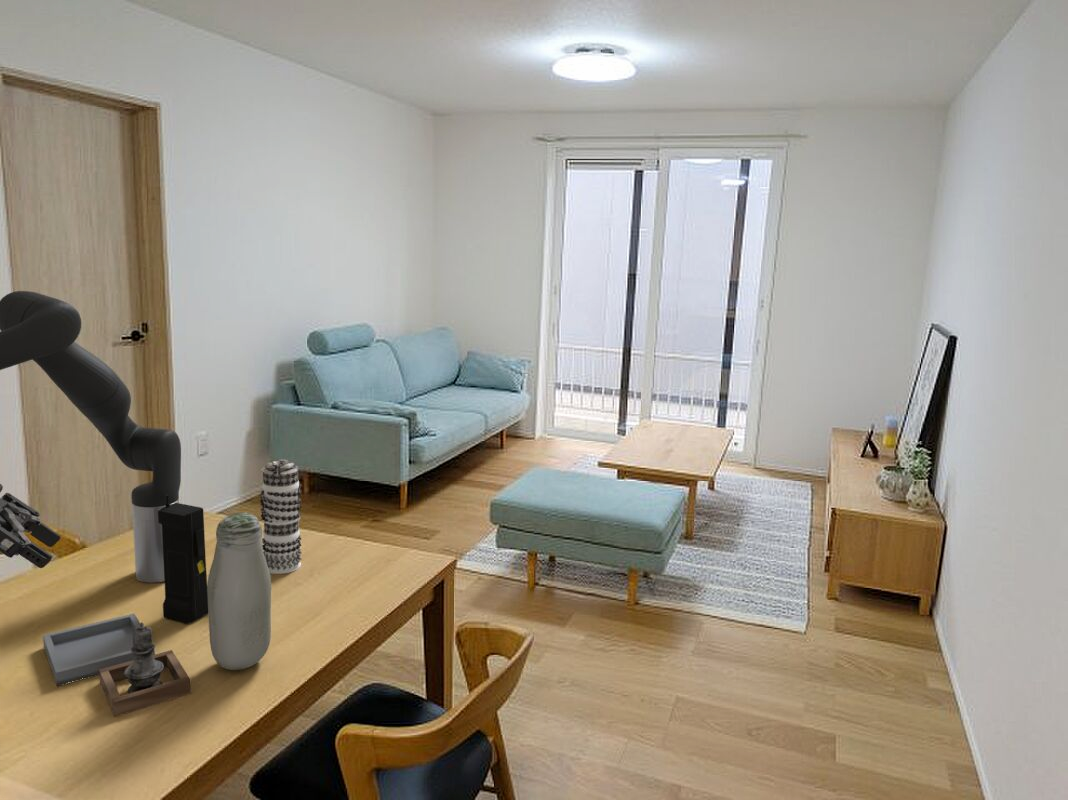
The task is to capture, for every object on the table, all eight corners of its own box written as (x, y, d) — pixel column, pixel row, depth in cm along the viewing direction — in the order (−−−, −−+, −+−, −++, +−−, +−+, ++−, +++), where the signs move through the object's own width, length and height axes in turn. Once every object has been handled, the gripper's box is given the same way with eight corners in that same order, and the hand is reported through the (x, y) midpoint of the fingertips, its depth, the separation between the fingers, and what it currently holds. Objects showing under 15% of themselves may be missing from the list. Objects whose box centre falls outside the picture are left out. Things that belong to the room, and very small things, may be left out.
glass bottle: (236, 686, 131) (232, 530, 125) (199, 666, 136) (193, 516, 130) (283, 661, 139) (281, 514, 133) (246, 643, 144) (242, 501, 138)
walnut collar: (99, 683, 129) (99, 669, 129) (172, 662, 136) (171, 649, 136) (114, 716, 121) (113, 702, 120) (191, 693, 128) (190, 679, 127)
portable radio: (216, 613, 155) (212, 494, 150) (193, 626, 149) (189, 503, 144) (184, 605, 157) (179, 488, 152) (161, 618, 152) (155, 497, 147)
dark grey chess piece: (148, 701, 125) (145, 633, 123) (117, 695, 126) (113, 628, 124) (172, 681, 131) (169, 616, 128) (141, 676, 132) (138, 611, 130)
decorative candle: (311, 564, 180) (310, 462, 175) (279, 578, 172) (277, 470, 167) (285, 555, 184) (283, 454, 179) (252, 567, 177) (250, 462, 172)
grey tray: (44, 647, 139) (42, 635, 139) (135, 625, 149) (134, 613, 148) (57, 686, 128) (56, 672, 127) (154, 659, 137) (154, 646, 137)
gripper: (-38, 482, 106) (64, 551, 113) (-14, 455, 119) (76, 518, 126) (-81, 522, 105) (25, 589, 112) (-53, 491, 118) (41, 553, 125)
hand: (52, 552), depth 119 cm, fingers open, 8 cm apart
